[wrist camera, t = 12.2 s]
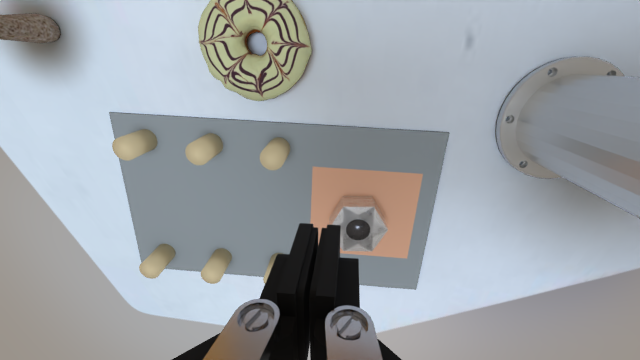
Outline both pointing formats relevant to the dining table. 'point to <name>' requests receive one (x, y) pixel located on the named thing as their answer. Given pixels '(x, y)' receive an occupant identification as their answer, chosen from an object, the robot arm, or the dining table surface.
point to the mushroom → (28, 28)
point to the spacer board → (271, 191)
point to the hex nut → (359, 223)
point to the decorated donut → (234, 56)
